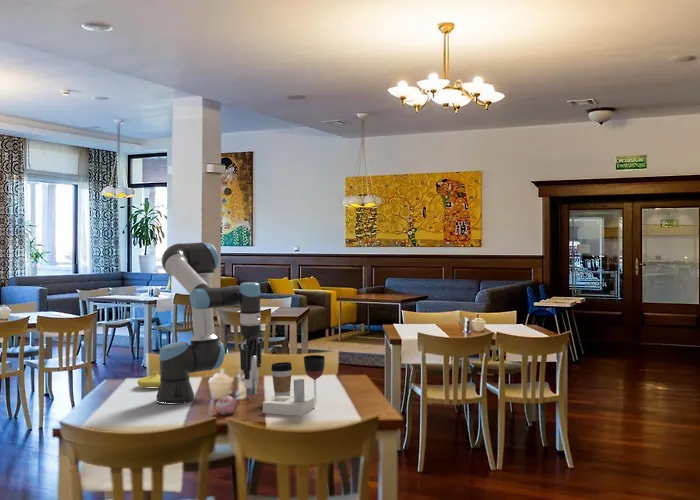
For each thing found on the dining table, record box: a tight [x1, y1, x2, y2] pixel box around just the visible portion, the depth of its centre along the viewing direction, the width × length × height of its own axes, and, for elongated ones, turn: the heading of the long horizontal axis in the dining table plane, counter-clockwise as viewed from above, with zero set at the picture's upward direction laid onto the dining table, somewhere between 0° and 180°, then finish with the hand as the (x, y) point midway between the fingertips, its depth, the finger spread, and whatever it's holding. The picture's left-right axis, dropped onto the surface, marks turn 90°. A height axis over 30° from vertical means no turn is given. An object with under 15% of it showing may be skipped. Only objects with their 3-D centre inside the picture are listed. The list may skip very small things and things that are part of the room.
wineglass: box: [303, 354, 326, 407], centre depth 272 cm, size 8×9×20 cm
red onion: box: [215, 394, 238, 416], centre depth 266 cm, size 8×8×7 cm
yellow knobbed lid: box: [136, 370, 160, 388], centre depth 317 cm, size 16×16×7 cm
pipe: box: [245, 355, 258, 396], centre depth 263 cm, size 4×4×14 cm
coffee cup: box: [270, 361, 293, 397], centre depth 286 cm, size 8×8×15 cm
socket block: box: [262, 378, 315, 417], centre depth 268 cm, size 16×12×12 cm
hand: (251, 386), depth 263 cm, fingers closed on pipe, 4 cm apart
